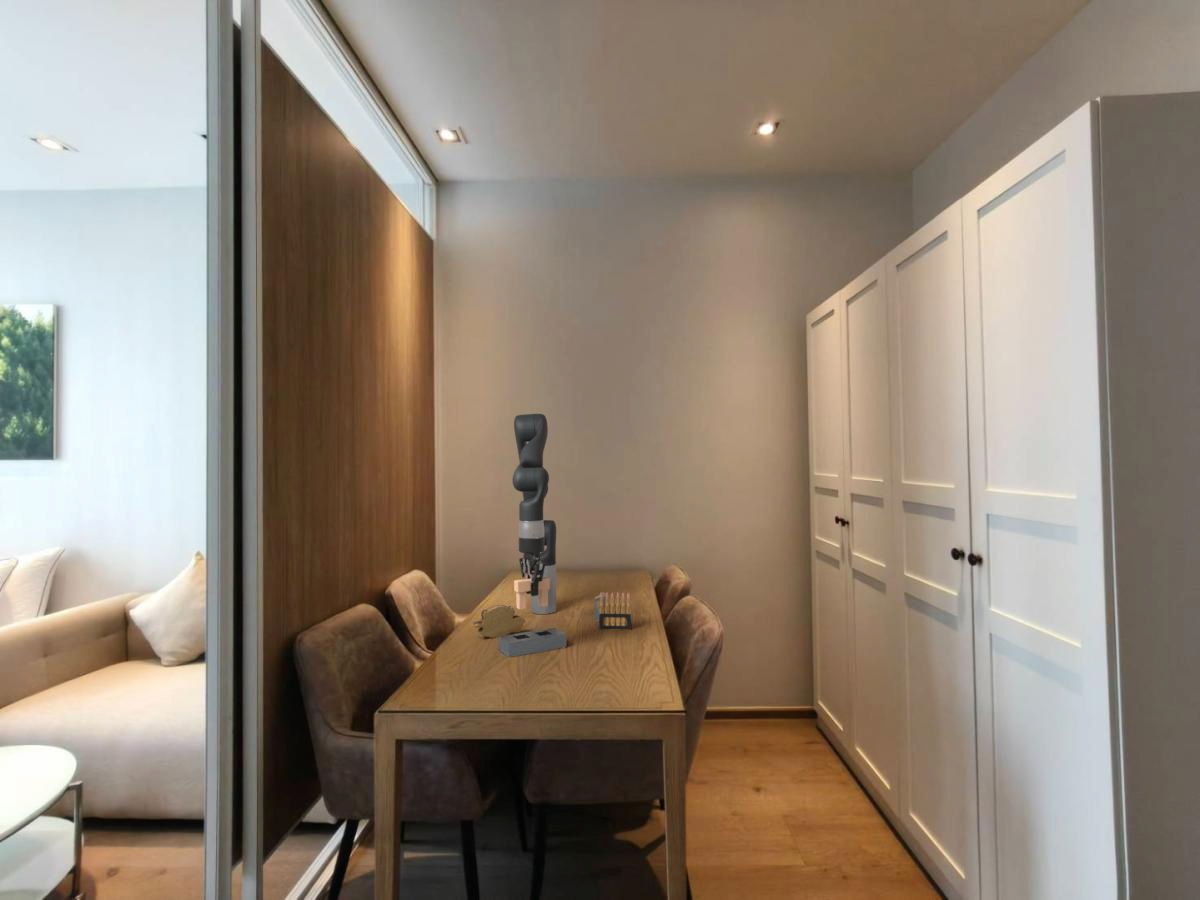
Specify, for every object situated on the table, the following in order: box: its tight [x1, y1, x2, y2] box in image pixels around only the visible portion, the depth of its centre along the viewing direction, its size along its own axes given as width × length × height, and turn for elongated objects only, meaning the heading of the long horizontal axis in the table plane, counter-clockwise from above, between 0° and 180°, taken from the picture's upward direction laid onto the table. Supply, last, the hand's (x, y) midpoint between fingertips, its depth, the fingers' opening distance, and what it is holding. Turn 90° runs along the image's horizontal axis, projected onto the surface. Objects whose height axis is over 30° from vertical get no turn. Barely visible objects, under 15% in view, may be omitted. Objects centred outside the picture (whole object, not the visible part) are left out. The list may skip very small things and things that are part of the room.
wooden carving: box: [473, 604, 526, 639], centre depth 201 cm, size 16×5×10 cm, turn 123°
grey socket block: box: [498, 627, 567, 658], centre depth 188 cm, size 8×18×4 cm, turn 120°
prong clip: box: [513, 577, 550, 610], centre depth 188 cm, size 3×10×8 cm, turn 120°
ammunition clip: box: [598, 591, 633, 630], centre depth 209 cm, size 11×2×12 cm, turn 84°
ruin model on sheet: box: [593, 592, 607, 620], centre depth 225 cm, size 11×3×10 cm, turn 168°
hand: (532, 594), depth 188 cm, fingers closed on prong clip, 3 cm apart
